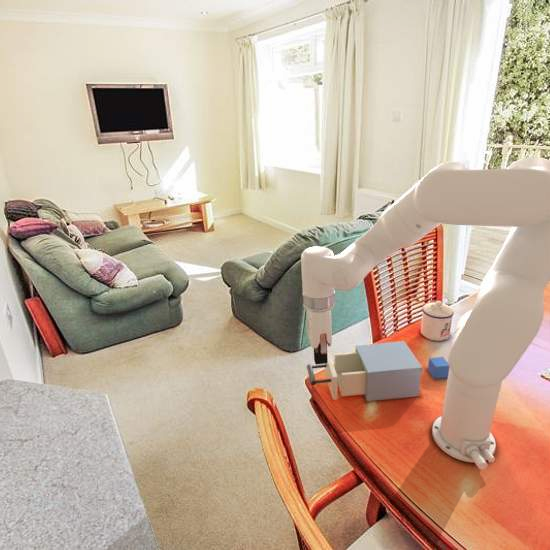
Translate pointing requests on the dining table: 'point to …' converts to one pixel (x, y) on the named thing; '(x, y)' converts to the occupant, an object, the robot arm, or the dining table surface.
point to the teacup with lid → (436, 321)
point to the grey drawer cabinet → (390, 370)
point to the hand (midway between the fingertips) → (320, 362)
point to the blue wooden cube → (438, 367)
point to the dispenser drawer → (342, 374)
